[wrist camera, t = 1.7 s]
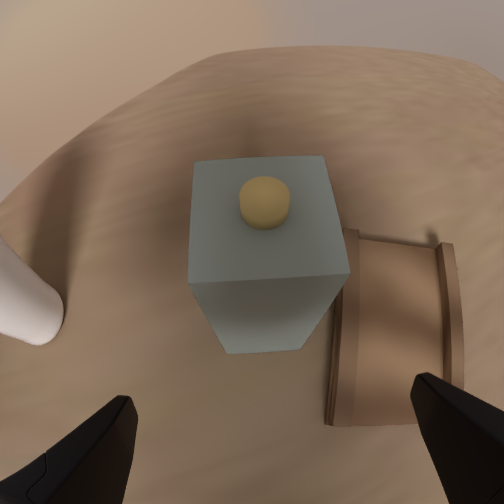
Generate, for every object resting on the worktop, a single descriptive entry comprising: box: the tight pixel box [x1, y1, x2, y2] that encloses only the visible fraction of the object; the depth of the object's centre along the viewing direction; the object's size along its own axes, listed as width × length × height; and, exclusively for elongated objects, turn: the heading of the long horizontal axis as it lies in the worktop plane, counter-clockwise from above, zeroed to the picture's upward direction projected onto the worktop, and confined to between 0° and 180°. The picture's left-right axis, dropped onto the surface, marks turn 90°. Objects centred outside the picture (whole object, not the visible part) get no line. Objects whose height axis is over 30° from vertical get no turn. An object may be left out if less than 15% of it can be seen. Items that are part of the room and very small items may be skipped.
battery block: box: [187, 155, 351, 354], centre depth 16 cm, size 5×5×14 cm
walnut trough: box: [325, 228, 464, 426], centre depth 20 cm, size 14×10×2 cm
